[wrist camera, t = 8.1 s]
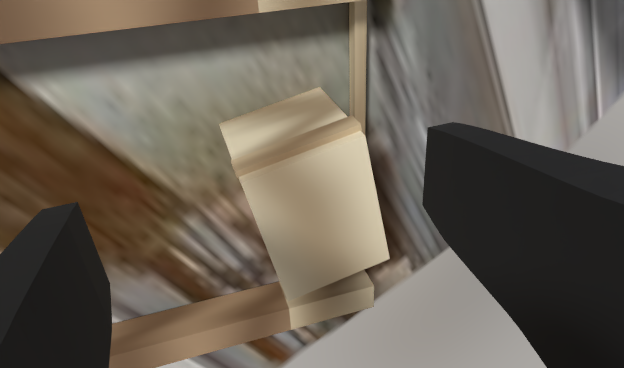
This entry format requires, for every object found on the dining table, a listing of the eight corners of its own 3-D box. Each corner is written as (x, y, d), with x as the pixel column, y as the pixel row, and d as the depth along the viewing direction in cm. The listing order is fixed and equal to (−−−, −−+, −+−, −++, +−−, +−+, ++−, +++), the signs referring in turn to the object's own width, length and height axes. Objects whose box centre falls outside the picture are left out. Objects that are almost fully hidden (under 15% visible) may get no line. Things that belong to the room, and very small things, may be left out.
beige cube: (318, 80, 21) (365, 128, 16) (348, 199, 24) (391, 262, 20) (215, 118, 20) (236, 177, 16) (261, 233, 24) (288, 305, 20)
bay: (361, -54, 18) (383, -49, 17) (358, 281, 27) (373, 306, 26) (-285, 5, 14) (-341, 21, 12) (-30, 384, 23) (-42, 422, 21)
